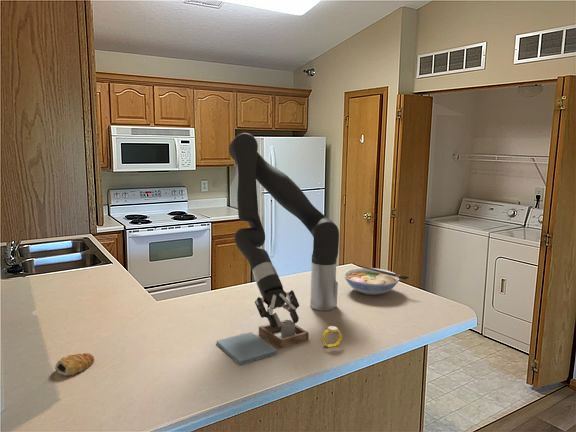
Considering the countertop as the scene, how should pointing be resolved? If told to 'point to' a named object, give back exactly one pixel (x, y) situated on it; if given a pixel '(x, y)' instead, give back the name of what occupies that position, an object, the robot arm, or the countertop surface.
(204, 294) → the countertop surface
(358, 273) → the ramen bowl
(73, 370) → the pastry
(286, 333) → the lighter
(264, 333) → the frame
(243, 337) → the slate board
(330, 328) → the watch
